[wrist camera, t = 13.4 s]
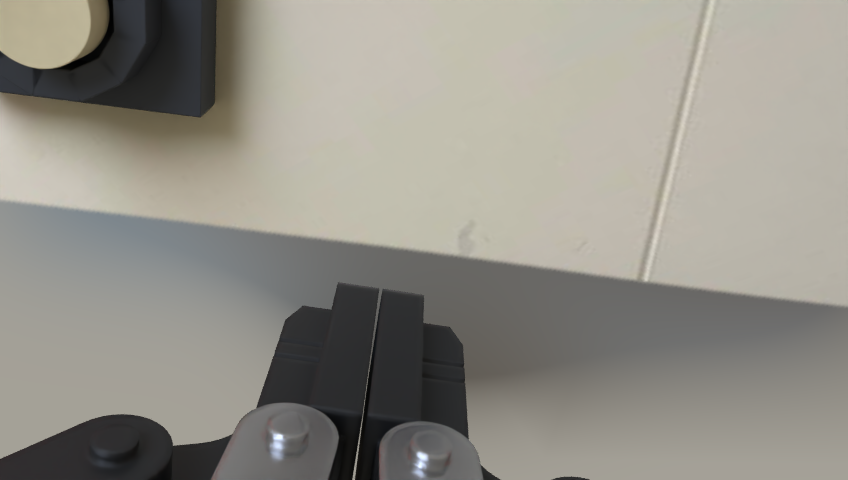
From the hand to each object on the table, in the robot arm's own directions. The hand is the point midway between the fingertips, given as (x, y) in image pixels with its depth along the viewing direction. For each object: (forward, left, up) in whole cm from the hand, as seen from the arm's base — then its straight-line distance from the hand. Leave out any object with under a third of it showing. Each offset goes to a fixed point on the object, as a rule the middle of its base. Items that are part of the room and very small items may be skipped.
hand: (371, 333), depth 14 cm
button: (+10, +9, -18) cm, 22 cm away
